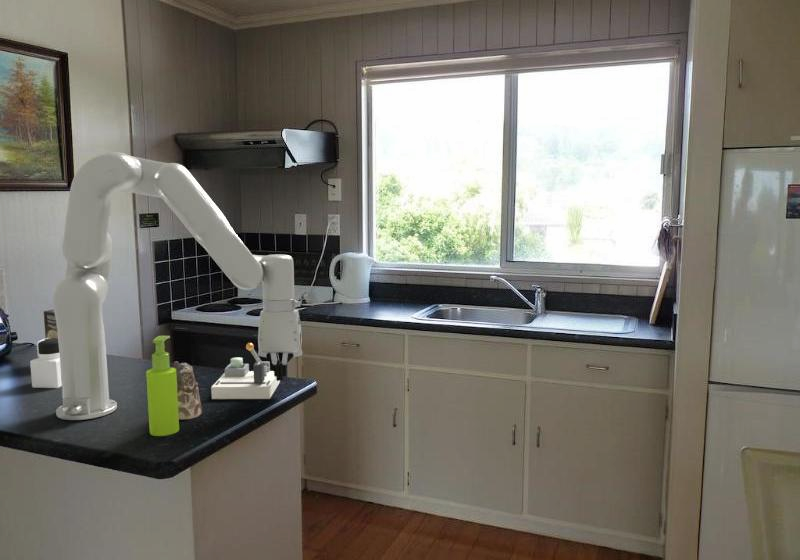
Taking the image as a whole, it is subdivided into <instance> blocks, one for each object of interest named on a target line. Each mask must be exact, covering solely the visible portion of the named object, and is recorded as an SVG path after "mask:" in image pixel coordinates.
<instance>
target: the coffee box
mask: <svg viewBox="0 0 800 560" xmlns="http://www.w3.org/2000/svg"><path fill="white" fill-rule="evenodd" d="M43 323H44V336H45V337H44V339H47V338H58V332H57V324H56V318H55V312H54V309H49V310H44V311H43Z"/></svg>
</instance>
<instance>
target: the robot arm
mask: <svg viewBox="0 0 800 560" xmlns="http://www.w3.org/2000/svg"><path fill="white" fill-rule="evenodd" d="M71 181H72V182H71V183H70V184H71V185H70V188H69V190H70V191H69V195H68V196H69V197H68V203H67V210H66V215H65V224H64V231H63V232H64V234H63V238H62V245H61V251H62V252H61V253H62V255H63V257H64V259H65V260H66V269H65V270H66V272H65V277H64V278H63V279H62V280H60V281H59V283H58V285H57V286H56V287H55V290H54V293H53V299H52V305H53V310H54V312H55V318H56V324H57V332H58V343H59V354H60V368H61V381H62V386H61V391H62V393H61V394H62V405H60V406H59V407H57V408H56V410H55V415H56V417H57V418H58V419H61V420H67V421H83V420H91V419H96V418H99V417H104V416H107V415H109V414H111V413H113V412H114V411H116V410H117V408H118V403H117V401H116V400H113V399H110V391H109V390H110V389H109V378H108V377H109V376H108V374H109V373H108V363H107V362H108V361H107V346H106V345H107V344H106V335H105V323H104V317H103V315H104V313H103V303H104V302H105V300H106V298H107V295H108V291H109V285H110V278H111V277H110V276H111V267H112V260H113V250H114V247H113V246H114V245H113V239H112V237H111V235H110V234H109V232H108V227H109V219H110V214H111V202H112V198H113V196H114V195H115V193H117V192H126V193H131V194H138V195H142V196H148V197H155V198H161V199H162V200H163V201H164V202H165V204H166V205H167V206H168V207H169V209H171V211H172V212H173V213H174V214H175V215H176V217H177V218H178V219H179V221H180V222H181V223H182V225H183V226H184V227H185V228H186V229H187V230H188V232H189V233H190V234H191V236H193V238H194V239H195V241H197V243H198V244H200V246H201V247H203V248H204V250H205V251H206V252H207V253H208V254H209V256H210V257H211V258H212V260H213V261H214V262H215V263H216V265H217V266H218V267H219V268H220V270H221V271H222V272H223V274H225V276H226V277H227V278H228V279H229V280H230V281H231V283H232V284H233V285H234V286H235V287H236V288H238V289H239V290H240V289H241V290H244V291H246V290H248V291H249V290H253V289H255V288H257V287H259V285H260V284H261V285H262V310H261V311H260V314H259V319H258V320H259V321H258V331H257V344H258V345H257V346H258V351H257V355H258V357H262V358H266V359H268V360H269V362H271V363H272V365H273V371H274V377H276V378H277V381H279V380H280V382H284V381H285V379H286V377H288V363H289V362H290V361H291V360H292V359H293V358H296V357H301V356H302V355H303V350H302V344H303V339H302V338H303V336H302V325H301V324H302V323H301V318H300V313H299V310H298V309H296V308H298V307H301V306H302V305H301V302H302V301H301V300H297V299H296V297H295V269H294V268H295V267H294V258H293V257H292V256H291V255H288V254H284V253H283V254H281V253H280V254H279V253H278V254H277V253H275V254H268V255H262V254H261V255H260V254H259V255H258V254H253V253H252V252H251V251H250V250H249V248H248V247H247V246H246V245H245V244H244V242H243V241H242V240H241V238H240V237H239V236H238V234H236V232H235V231H234V229H233V227H232V226H231V225H230V223H229V221H228V220H227V218H226V216H225V215H224V213H223V211H221V209H220V208H219V206H217V205H216V203H215V202H214V201H213V200H212V198H211V197H210V196H209V195H208V193H207V192H206V191H205V190H204V188H203V187H202V186H201V185H200V184H199V182H198V180H196V178H195V177H194V176H193V174H192V173H191V172H190V171H189V170H188V168H186V167H185V165H183V164H180V163H176V162H163V161H157V160H152V159H146V158H142V157H137V156H133V155H129V154H127V153H124V152H118V151H113V152H111V151H110V152H106V153H103V154H99V155H97V156H95V157H92V158H90V159H88V160H87V161H85V162H84V163H83V164H82V165H81V166H80V167H79V168H78V170H76V172H75V174H74V177H73V179H72V180H71ZM279 353H281V354H282V359H281V360H280V358H279Z"/></svg>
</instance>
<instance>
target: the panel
mask: <svg viewBox="0 0 800 560" xmlns="http://www.w3.org/2000/svg"><path fill="white" fill-rule="evenodd" d="M263 362H264V365H267V366H268V370H267V366H264V378H265V380H264V381H263V383H254V370H251V371H250V364H249V363H243V368H231V363H229V364H227V366H226V367H225V368H224V373H223V374H221V376H220V377H219V378H218V380H216V382H215V383H213V384H212V385H211V388H210V389H211V390H210V391H211V400H270V399H271V397H272V396H273V394H274V392H275V391H276V390H277V388H278V386H279V384H280V383H281V380H279V381H277V378H276V377H274V370H271V365H270V364H271V363H270V362H271V361H263Z"/></svg>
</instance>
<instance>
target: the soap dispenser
mask: <svg viewBox="0 0 800 560" xmlns="http://www.w3.org/2000/svg"><path fill="white" fill-rule="evenodd" d="M170 338H171V335H158V336H155V338H153V340H152V344H155V351H154V353H152V354H151V362H152V363H151V364H152V365H151V366H152V368H150V369H148V370H146V372H145V374H146V375H145V376H146V393H147V411H148V424H149V426H148V428H149V434H150V436H154V437H166V436H171V435H174V434H176V433H178V432H179V431H180V421H179V415H178V395H177V375H176V369H175V367H171V365H170V353H169V352H167V351H165V341H166V340H167V339H170Z"/></svg>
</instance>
